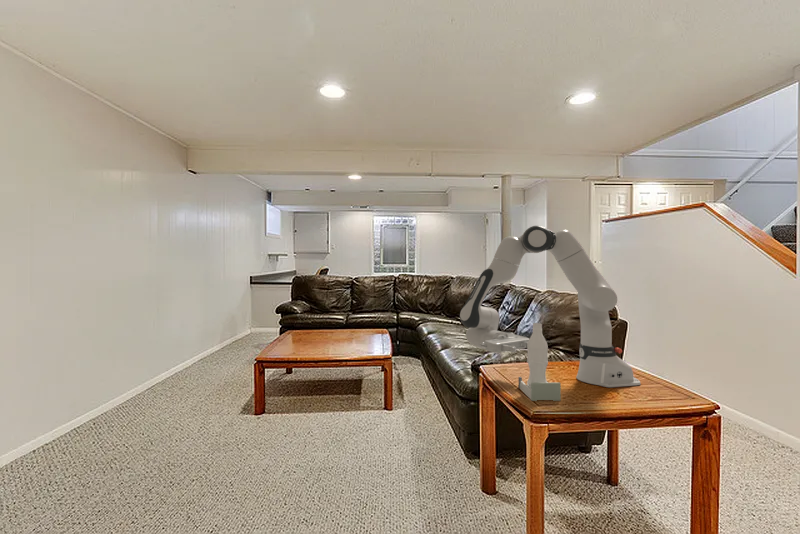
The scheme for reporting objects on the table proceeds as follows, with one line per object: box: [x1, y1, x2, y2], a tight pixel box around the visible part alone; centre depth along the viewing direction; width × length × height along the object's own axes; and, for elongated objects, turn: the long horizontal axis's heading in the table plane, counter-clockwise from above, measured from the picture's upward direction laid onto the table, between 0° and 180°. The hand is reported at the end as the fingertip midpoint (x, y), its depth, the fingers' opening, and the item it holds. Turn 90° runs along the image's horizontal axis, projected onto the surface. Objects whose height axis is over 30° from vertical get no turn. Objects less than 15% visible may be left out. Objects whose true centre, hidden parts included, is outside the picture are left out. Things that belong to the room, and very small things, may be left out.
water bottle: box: [526, 322, 549, 389], centre depth 136 cm, size 7×7×25 cm
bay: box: [518, 376, 562, 402], centre depth 134 cm, size 10×14×6 cm
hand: (523, 348), depth 141 cm, fingers open, 8 cm apart
